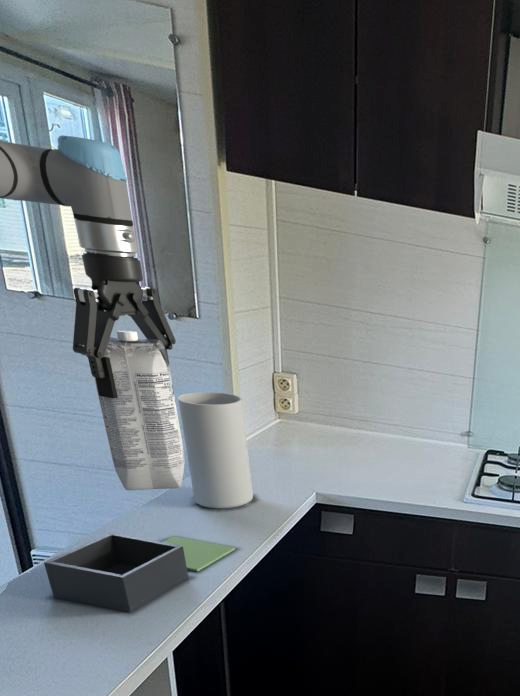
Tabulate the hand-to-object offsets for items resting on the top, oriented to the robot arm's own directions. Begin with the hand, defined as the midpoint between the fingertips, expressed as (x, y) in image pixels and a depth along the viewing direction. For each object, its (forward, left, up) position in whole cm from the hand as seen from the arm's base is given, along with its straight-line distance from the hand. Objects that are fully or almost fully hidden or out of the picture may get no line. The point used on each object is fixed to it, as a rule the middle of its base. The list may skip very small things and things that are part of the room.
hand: (137, 391), depth 110 cm
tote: (0, -11, -34) cm, 35 cm away
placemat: (0, +4, -34) cm, 34 cm away
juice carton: (0, 0, -17) cm, 17 cm away
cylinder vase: (-12, +32, -34) cm, 48 cm away
